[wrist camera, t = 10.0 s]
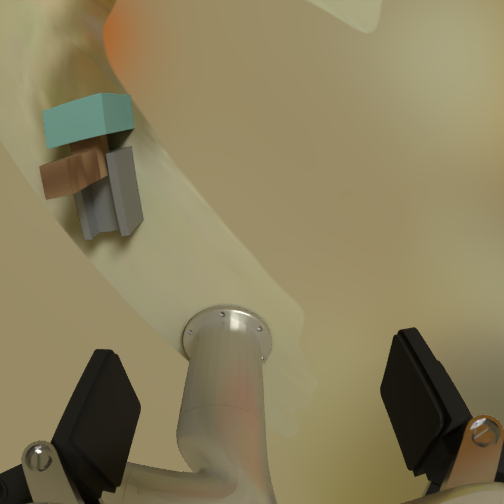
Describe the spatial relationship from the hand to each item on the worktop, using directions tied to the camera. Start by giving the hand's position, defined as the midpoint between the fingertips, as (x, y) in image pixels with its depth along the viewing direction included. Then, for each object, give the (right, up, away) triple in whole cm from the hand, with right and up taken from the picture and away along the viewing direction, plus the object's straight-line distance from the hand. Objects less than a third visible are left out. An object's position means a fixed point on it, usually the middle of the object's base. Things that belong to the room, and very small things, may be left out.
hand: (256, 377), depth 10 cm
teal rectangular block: (-17, +20, +22) cm, 34 cm away
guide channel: (-16, +12, +25) cm, 33 cm away
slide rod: (-17, +16, +20) cm, 30 cm away
